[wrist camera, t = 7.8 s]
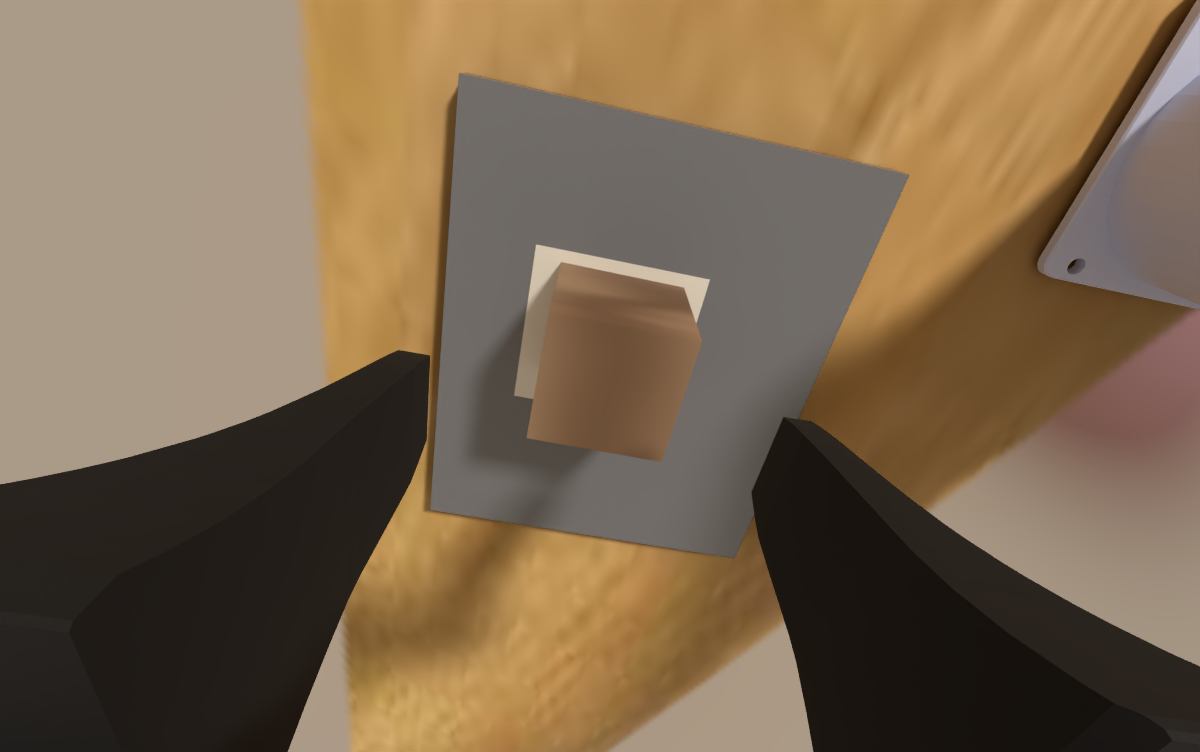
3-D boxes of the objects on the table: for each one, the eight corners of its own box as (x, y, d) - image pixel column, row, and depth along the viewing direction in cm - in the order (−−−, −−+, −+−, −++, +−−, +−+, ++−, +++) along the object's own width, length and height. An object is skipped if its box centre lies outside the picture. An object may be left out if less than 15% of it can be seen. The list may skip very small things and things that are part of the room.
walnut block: (684, 287, 18) (702, 341, 14) (652, 391, 19) (661, 462, 16) (561, 261, 17) (549, 311, 14) (541, 370, 19) (526, 438, 16)
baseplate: (896, 170, 17) (909, 175, 16) (730, 544, 24) (734, 558, 24) (466, 72, 15) (458, 73, 15) (435, 496, 23) (430, 510, 22)
